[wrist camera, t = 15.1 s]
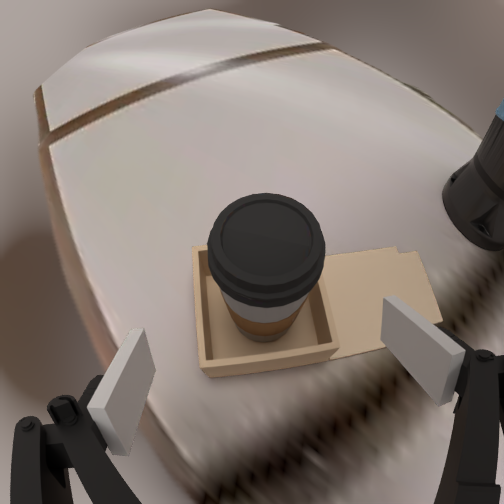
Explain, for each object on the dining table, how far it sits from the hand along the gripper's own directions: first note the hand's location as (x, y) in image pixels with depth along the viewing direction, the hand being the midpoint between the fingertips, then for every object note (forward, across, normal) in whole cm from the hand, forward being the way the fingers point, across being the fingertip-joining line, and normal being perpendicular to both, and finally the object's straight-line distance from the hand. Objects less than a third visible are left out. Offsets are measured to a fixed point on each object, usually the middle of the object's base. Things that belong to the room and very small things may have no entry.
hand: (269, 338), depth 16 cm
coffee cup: (+16, +1, -6) cm, 17 cm away
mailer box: (+16, +8, -6) cm, 20 cm away
